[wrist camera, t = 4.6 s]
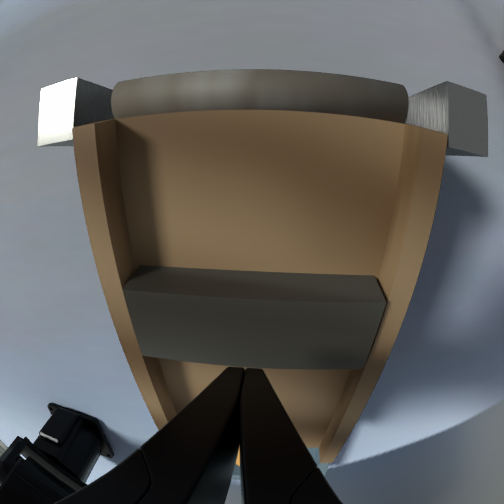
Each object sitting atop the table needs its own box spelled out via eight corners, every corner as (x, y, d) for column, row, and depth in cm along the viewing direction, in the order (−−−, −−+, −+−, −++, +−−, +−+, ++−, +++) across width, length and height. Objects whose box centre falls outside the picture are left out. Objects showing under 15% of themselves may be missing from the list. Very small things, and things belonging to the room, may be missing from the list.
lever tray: (330, 431, 17) (332, 466, 14) (178, 422, 17) (169, 455, 15) (413, 90, 8) (456, 91, 5) (110, 86, 8) (63, 87, 6)
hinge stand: (391, 182, 15) (484, 205, 7) (140, 174, 16) (38, 191, 8) (392, 95, 14) (480, 52, 6) (142, 89, 15) (47, 49, 6)
